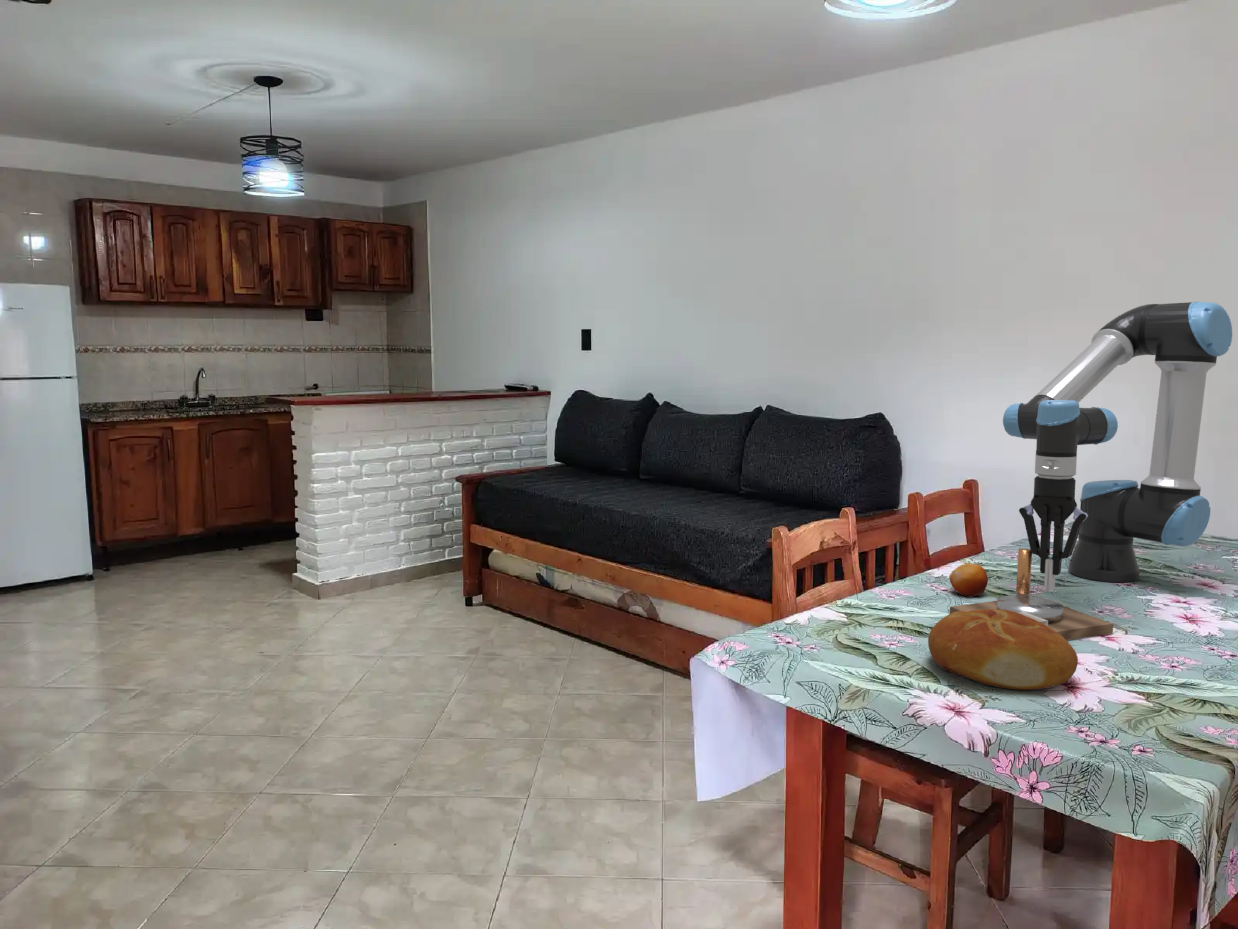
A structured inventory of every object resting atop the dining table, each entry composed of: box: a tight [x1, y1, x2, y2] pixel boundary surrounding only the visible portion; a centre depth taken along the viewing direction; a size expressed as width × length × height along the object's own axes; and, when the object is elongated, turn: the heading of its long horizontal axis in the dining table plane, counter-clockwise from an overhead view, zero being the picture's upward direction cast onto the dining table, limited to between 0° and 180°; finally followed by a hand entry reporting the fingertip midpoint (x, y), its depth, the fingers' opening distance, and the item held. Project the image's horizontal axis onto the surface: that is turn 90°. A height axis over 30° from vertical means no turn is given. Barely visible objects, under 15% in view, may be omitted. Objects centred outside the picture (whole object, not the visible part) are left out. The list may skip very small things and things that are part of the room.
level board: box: [949, 595, 1114, 641], centre depth 176 cm, size 22×20×4 cm
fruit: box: [949, 562, 989, 597], centre depth 198 cm, size 8×8×8 cm
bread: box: [927, 609, 1079, 691], centre depth 151 cm, size 23×23×10 cm
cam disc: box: [996, 547, 1064, 623], centre depth 178 cm, size 16×12×11 cm
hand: (1049, 589), depth 182 cm, fingers closed
